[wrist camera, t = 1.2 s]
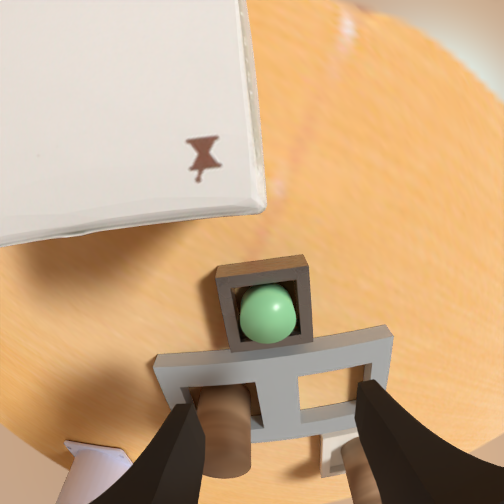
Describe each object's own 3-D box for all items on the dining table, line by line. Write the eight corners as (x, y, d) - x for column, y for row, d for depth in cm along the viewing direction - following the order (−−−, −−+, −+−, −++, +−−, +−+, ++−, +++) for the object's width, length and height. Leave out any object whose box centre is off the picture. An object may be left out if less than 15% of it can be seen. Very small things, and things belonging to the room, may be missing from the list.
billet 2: (375, 451, 25) (392, 501, 18) (339, 460, 25) (351, 512, 19) (380, 430, 23) (401, 484, 17) (341, 439, 23) (356, 497, 17)
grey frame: (374, 409, 23) (379, 421, 21) (190, 432, 23) (187, 445, 22) (385, 324, 20) (393, 336, 18) (157, 354, 20) (152, 367, 19)
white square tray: (388, 453, 25) (391, 461, 24) (319, 469, 26) (321, 478, 25) (401, 410, 23) (405, 418, 22) (320, 429, 23) (322, 439, 22)
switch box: (308, 326, 20) (313, 342, 18) (232, 336, 20) (230, 352, 18) (303, 254, 18) (308, 265, 16) (218, 265, 18) (214, 278, 17)
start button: (294, 323, 19) (297, 339, 17) (244, 329, 19) (244, 346, 17) (289, 278, 18) (293, 292, 16) (236, 285, 18) (235, 300, 16)
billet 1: (253, 409, 22) (254, 477, 16) (206, 413, 22) (197, 478, 16) (246, 375, 21) (246, 447, 15) (194, 379, 21) (181, 449, 15)
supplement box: (245, 43, 14) (239, -121, 2) (256, 171, 17) (276, 231, 5) (118, 65, 14) (-41, -7, 2) (128, 186, 17) (-42, 264, 5)
